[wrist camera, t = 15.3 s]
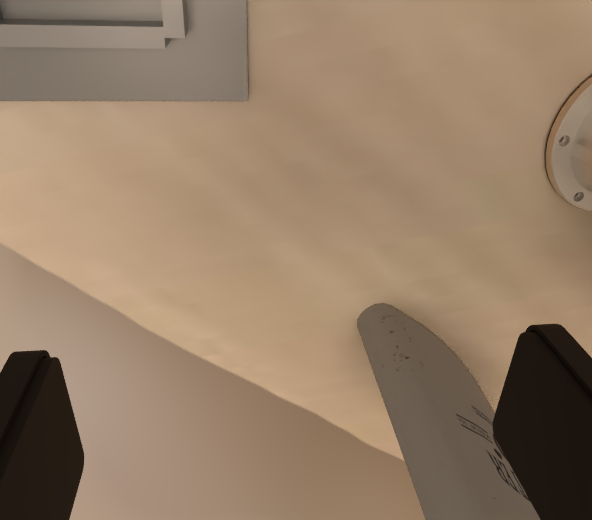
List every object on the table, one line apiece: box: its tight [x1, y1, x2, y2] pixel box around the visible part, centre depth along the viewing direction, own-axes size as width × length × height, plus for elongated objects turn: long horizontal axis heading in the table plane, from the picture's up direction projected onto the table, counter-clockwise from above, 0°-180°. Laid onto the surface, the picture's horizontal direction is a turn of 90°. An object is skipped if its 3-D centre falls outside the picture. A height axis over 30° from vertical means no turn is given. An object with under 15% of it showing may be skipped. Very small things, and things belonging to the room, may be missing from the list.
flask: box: [357, 303, 540, 520], centre depth 41 cm, size 17×5×25 cm, turn 44°
